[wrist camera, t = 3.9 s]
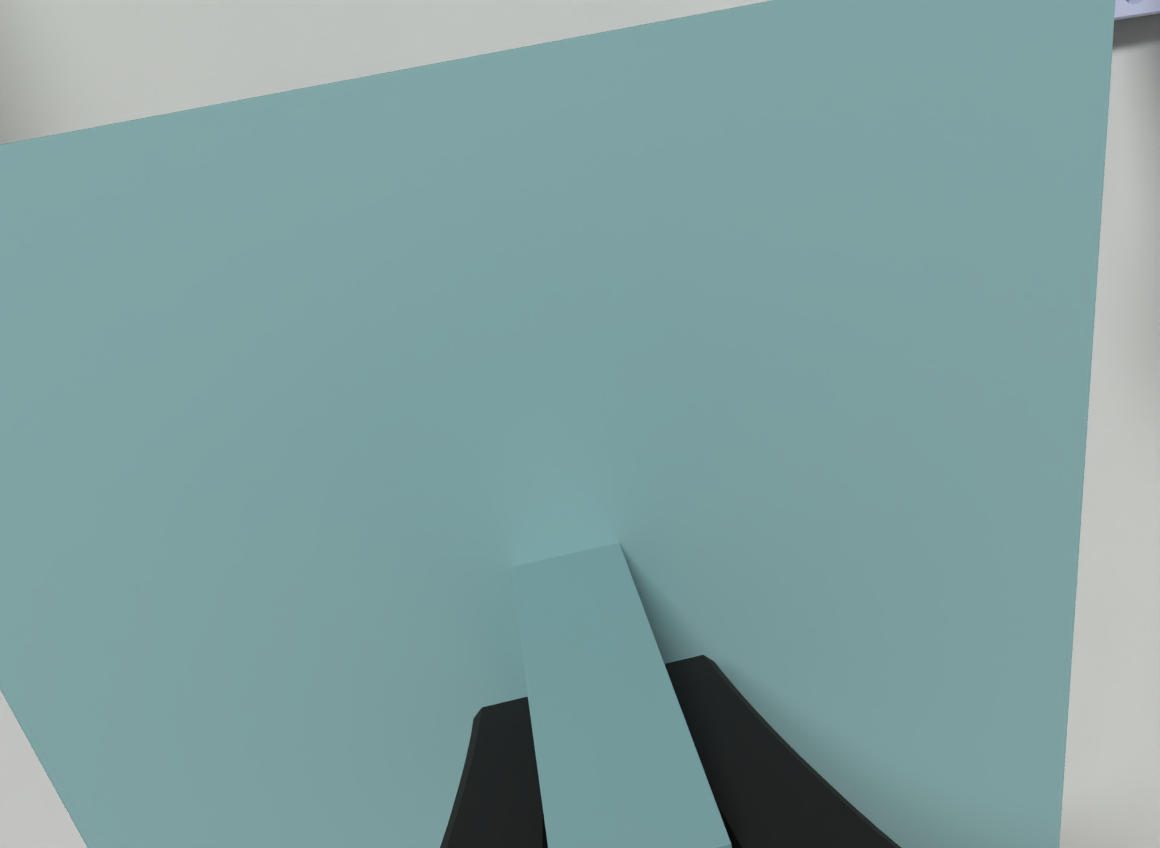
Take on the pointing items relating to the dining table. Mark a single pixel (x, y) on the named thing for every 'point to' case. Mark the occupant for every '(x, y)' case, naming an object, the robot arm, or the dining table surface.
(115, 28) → the dining table surface
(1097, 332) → the dining table surface
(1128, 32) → the dining table surface
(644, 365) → the lid
